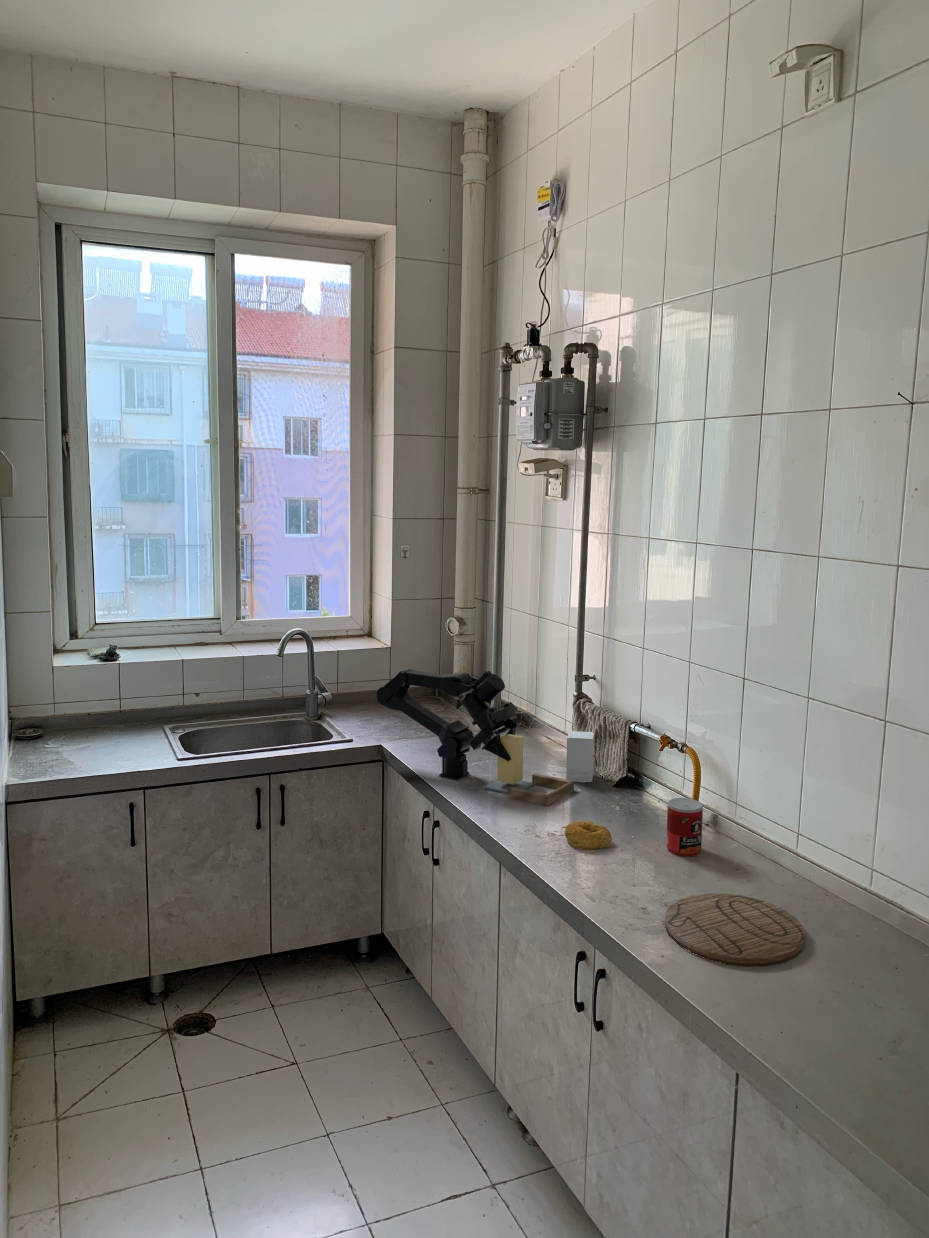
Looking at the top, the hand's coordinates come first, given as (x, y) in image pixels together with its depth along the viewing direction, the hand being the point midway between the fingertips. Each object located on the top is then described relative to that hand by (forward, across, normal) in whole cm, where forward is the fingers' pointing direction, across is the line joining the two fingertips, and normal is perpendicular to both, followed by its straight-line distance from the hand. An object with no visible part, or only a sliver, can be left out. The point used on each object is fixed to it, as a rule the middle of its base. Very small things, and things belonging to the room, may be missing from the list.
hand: (514, 757), depth 249 cm
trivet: (+59, -46, -46) cm, 88 cm away
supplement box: (+14, +17, -2) cm, 22 cm away
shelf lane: (+12, 0, +1) cm, 12 cm away
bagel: (+30, -23, -17) cm, 41 cm away
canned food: (+44, -15, -32) cm, 56 cm away
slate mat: (+5, 0, +7) cm, 9 cm away
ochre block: (+4, 0, +6) cm, 7 cm away
